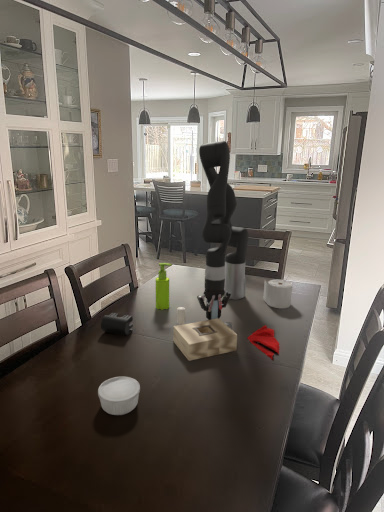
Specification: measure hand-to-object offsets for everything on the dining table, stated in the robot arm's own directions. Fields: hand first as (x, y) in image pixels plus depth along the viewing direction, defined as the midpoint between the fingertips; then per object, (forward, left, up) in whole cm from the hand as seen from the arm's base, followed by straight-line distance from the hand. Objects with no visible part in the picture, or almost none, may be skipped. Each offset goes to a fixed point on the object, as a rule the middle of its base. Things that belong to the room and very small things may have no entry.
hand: (213, 318), depth 147 cm
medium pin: (+11, -6, -4) cm, 13 cm away
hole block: (+9, +11, -4) cm, 15 cm away
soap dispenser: (+11, -26, -4) cm, 29 cm away
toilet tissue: (-38, -11, -4) cm, 40 cm away
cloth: (-14, +16, -5) cm, 21 cm away
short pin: (-2, +8, -4) cm, 9 cm away
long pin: (0, 0, -4) cm, 4 cm away
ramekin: (+44, +31, -5) cm, 54 cm away
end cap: (+35, -10, -4) cm, 37 cm away
